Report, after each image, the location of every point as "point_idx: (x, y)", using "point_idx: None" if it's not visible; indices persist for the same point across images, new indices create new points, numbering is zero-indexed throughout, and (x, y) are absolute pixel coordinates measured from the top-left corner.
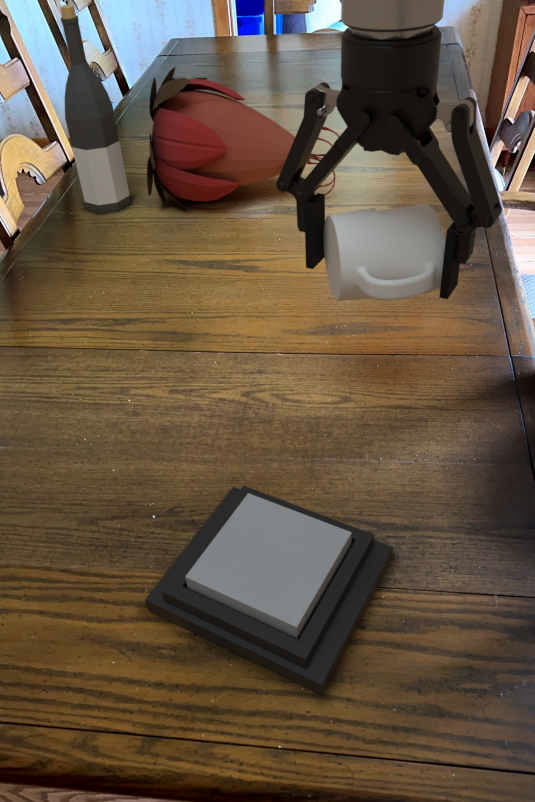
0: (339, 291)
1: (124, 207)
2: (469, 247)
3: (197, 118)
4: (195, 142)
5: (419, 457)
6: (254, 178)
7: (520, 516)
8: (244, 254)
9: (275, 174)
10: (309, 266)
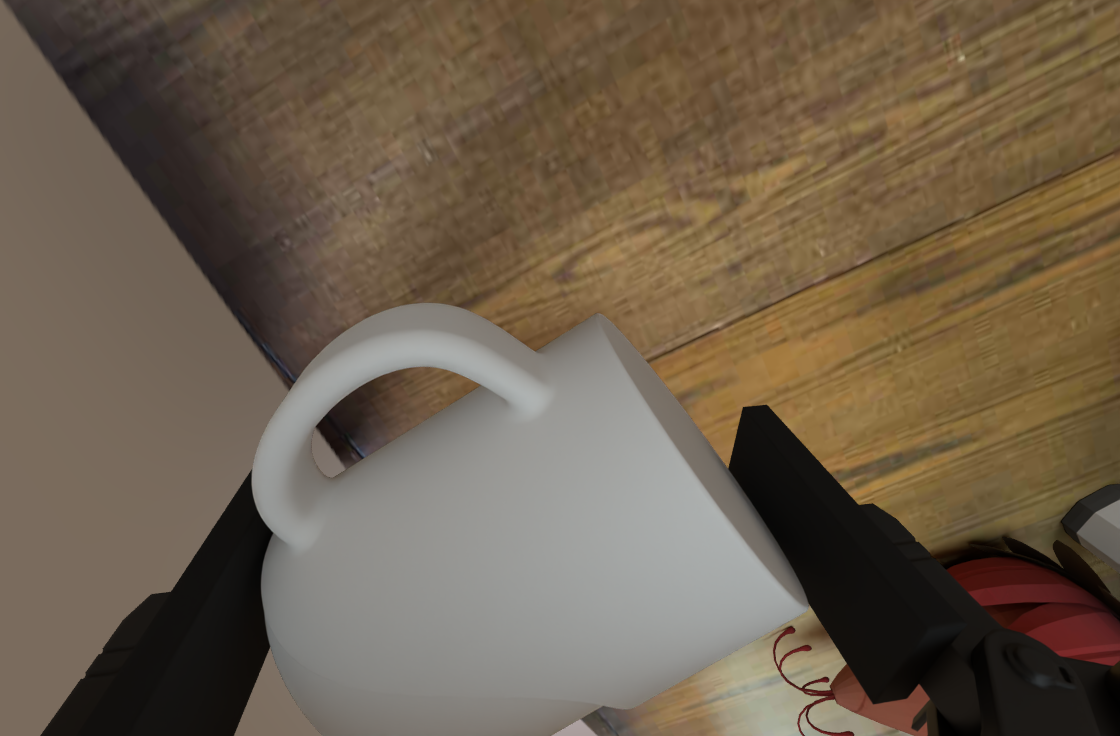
0: (604, 321)
1: (1070, 511)
2: (79, 684)
3: None
4: None
5: (369, 196)
6: None
7: (118, 135)
8: None
9: None
10: (758, 410)
